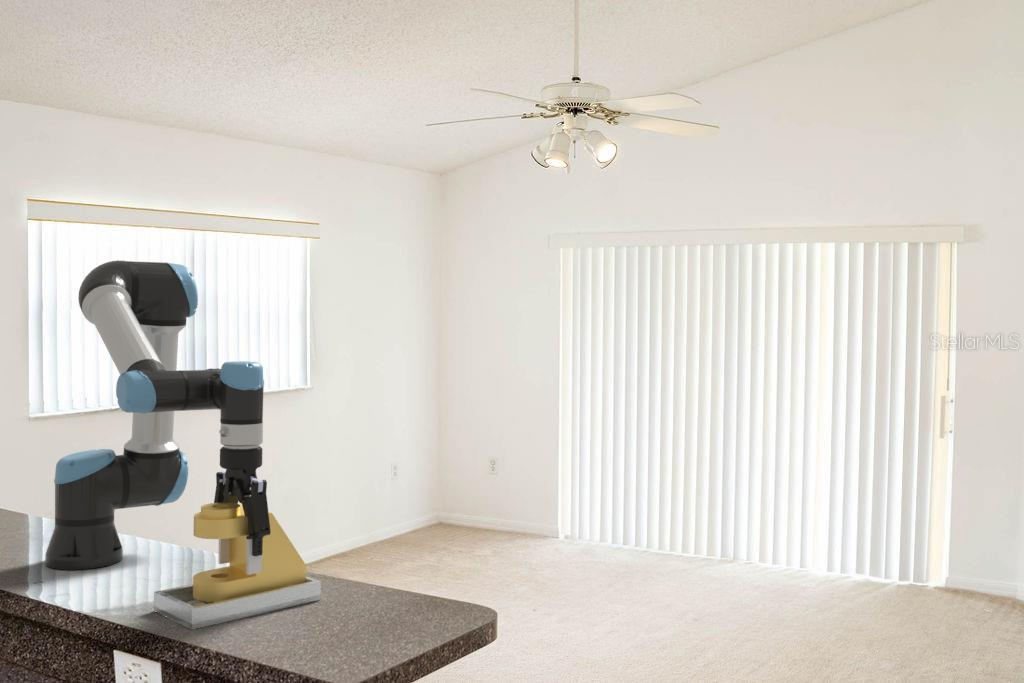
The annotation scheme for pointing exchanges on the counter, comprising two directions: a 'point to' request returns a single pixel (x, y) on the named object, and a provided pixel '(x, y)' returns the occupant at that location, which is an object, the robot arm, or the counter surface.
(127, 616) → the counter surface
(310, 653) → the counter surface
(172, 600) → the tray
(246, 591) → the yellow mounting bracket
